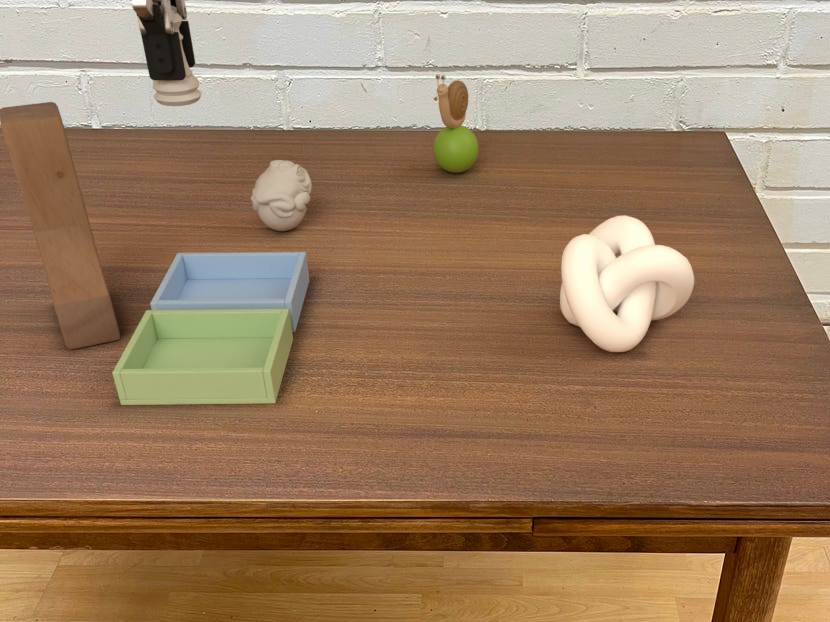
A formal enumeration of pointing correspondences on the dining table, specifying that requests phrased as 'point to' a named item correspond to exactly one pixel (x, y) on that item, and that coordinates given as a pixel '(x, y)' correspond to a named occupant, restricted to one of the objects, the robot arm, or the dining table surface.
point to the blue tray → (235, 282)
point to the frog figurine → (282, 195)
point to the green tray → (205, 357)
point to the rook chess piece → (177, 89)
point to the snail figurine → (454, 129)
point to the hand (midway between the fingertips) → (173, 70)
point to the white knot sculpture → (621, 282)
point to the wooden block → (59, 223)
